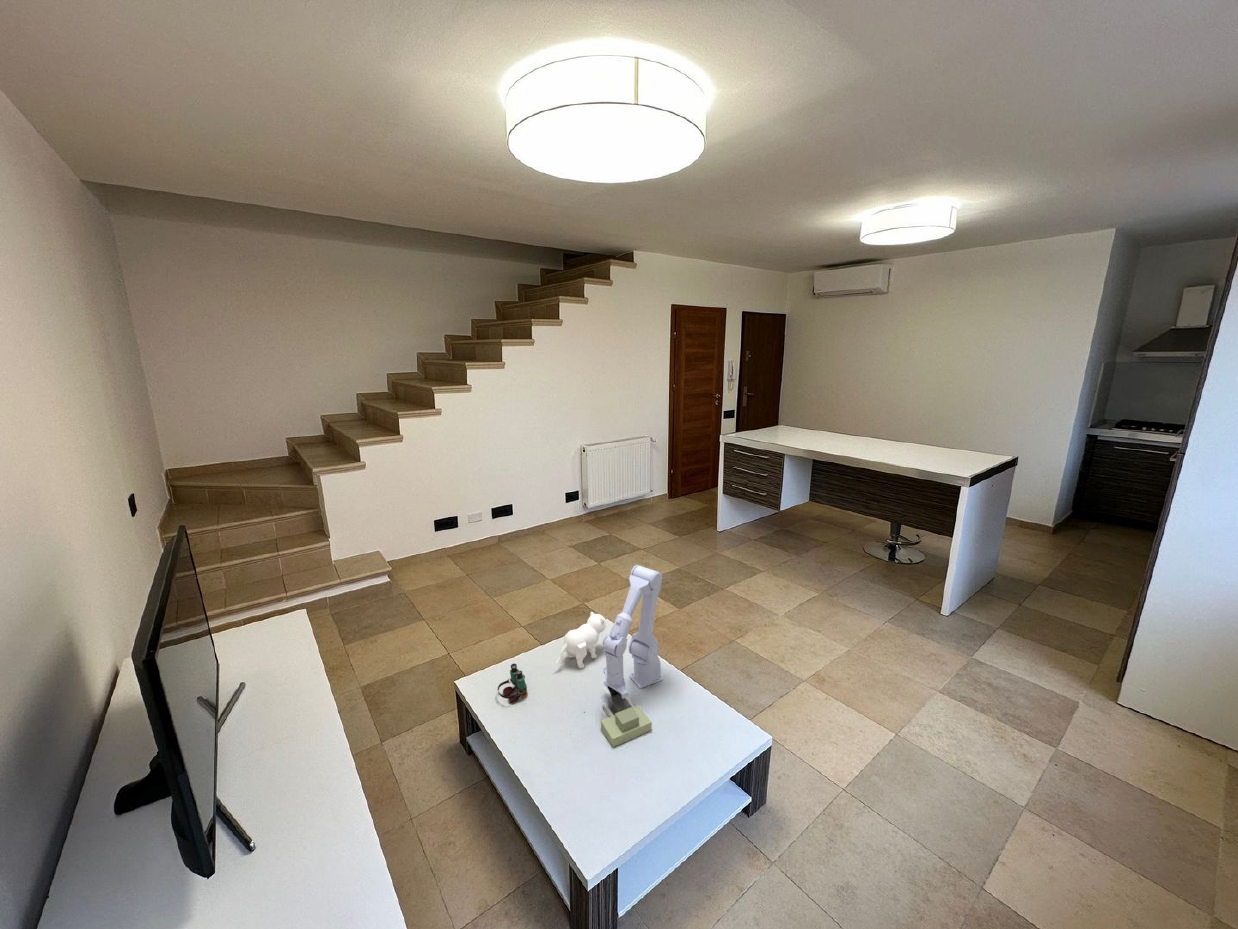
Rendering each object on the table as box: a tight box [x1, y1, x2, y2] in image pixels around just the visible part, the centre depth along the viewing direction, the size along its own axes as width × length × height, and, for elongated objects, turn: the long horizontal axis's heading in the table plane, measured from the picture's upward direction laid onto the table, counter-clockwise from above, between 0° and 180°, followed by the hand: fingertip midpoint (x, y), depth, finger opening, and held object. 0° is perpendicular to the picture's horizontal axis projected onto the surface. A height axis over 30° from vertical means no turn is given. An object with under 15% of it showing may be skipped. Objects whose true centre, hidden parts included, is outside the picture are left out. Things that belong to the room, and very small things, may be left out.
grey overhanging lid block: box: [610, 693, 631, 715], centre depth 164 cm, size 4×6×5 cm
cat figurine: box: [555, 611, 610, 669], centre depth 190 cm, size 25×10×17 cm, turn 129°
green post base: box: [600, 696, 653, 748], centre depth 160 cm, size 14×16×6 cm
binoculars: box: [497, 663, 529, 704], centre depth 172 cm, size 9×11×10 cm
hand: (615, 702), depth 167 cm, fingers closed
